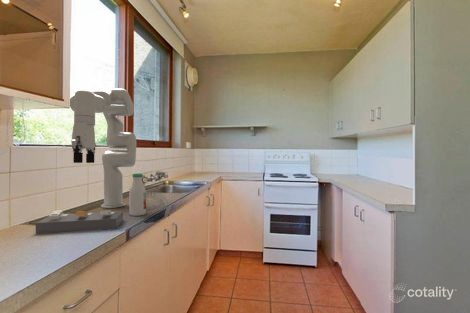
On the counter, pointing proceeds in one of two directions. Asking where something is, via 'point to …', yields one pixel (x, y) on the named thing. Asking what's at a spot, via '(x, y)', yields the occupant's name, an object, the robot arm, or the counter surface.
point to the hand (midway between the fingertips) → (84, 162)
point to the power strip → (80, 222)
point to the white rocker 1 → (56, 214)
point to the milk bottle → (137, 196)
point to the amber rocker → (81, 213)
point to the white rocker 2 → (105, 212)
